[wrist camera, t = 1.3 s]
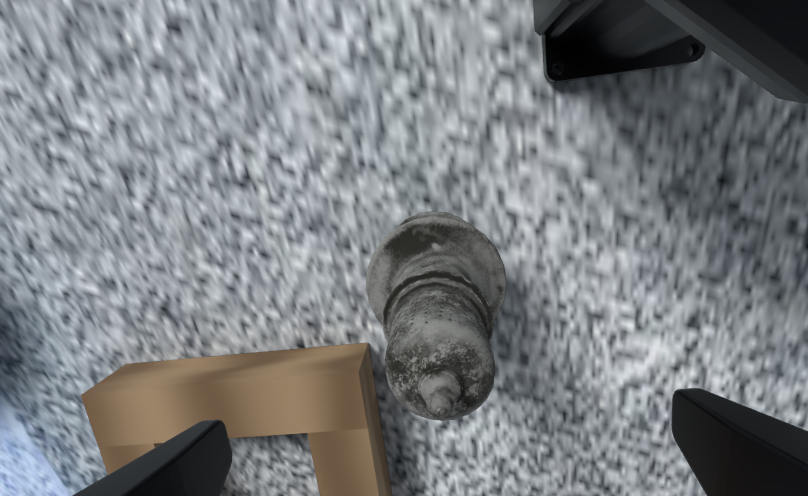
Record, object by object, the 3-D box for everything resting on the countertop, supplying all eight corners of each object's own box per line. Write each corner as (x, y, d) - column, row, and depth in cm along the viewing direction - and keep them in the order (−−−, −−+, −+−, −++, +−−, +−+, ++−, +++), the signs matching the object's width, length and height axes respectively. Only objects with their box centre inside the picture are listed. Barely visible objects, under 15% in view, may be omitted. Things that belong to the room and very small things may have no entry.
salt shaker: (457, 335, 21) (494, 564, 9) (357, 286, 21) (264, 457, 9) (515, 239, 20) (643, 364, 8) (409, 184, 19) (378, 229, 8)
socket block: (368, 342, 21) (358, 372, 18) (401, 551, 24) (397, 604, 21) (125, 364, 22) (80, 395, 20) (186, 559, 26) (155, 611, 23)
